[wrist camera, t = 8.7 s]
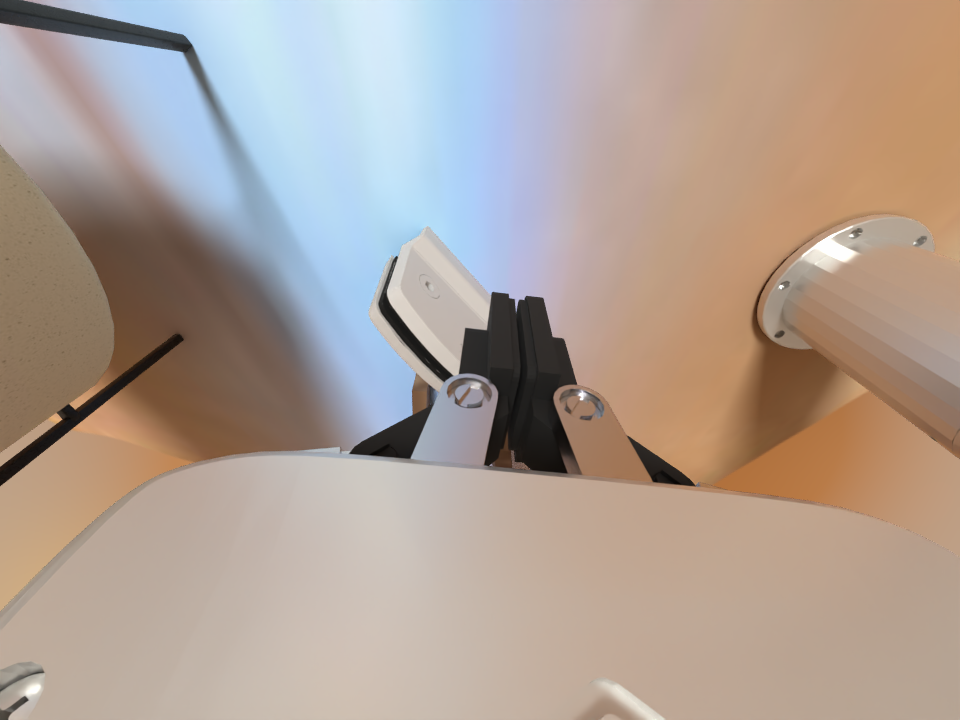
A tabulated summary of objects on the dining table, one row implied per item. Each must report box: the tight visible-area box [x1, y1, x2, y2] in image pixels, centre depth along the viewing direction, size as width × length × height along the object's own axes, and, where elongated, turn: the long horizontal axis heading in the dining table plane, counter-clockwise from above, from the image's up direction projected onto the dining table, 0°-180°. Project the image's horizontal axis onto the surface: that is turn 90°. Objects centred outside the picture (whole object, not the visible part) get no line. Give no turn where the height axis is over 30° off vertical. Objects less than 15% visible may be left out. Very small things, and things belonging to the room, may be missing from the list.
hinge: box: [369, 226, 491, 392], centre depth 29 cm, size 17×5×10 cm, turn 40°
